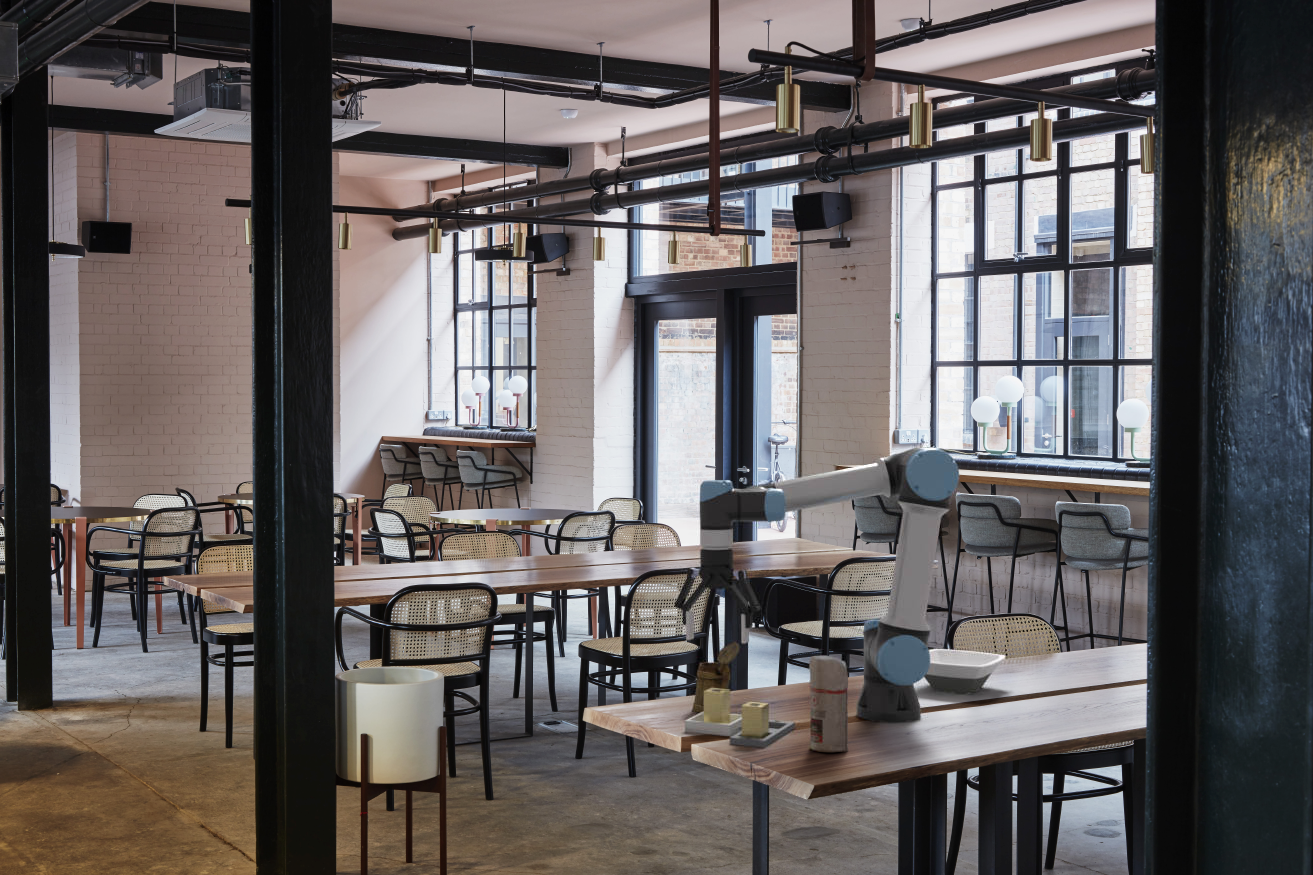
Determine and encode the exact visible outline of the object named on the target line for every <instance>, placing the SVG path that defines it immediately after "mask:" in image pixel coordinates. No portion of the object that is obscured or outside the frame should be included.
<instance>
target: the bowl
mask: <svg viewBox="0 0 1313 875" xmlns="http://www.w3.org/2000/svg"><path fill="white" fill-rule="evenodd" d="M928 650H929V654H930V666H929V669H928V671H927V673H926V675H925V676H924V677H923V678H924V679H925V681H926V682H927V683H928V684H929V686H930V687H931V688H932V690H933V689H935V690H934V691H937V690H940V691H939V692H943V691H945V693H951V692H953V693H954V694H963V693H970V694H973V692H974V693H976V692H977V691H980V690H981V689H982V688H983V686H984V685H985V683H986V682H987V680H988V679H989V678H990V676H991V675H992V673H994V672H995V671H996V670H997V669H998V667H999V666H1000V665H1001V664H1002V662H1004V661H1005V658H1006V655H1005V654H996V653H991V652H982V651H981V652H980V651H973V650H972V651H971V650H962V649H961V650H958V649H946V648H941V649H940V648H933V649H928ZM979 689H980V690H979Z"/></svg>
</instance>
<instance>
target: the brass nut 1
mask: <svg viewBox="0 0 1313 875" xmlns="http://www.w3.org/2000/svg"><path fill="white" fill-rule="evenodd" d="M730 714H731V689H730V688H728V689H719V688H710V689H708V690H706V691H704V722H712V723H721V724H730Z"/></svg>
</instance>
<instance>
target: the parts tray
mask: <svg viewBox="0 0 1313 875" xmlns="http://www.w3.org/2000/svg"><path fill="white" fill-rule="evenodd" d="M740 731H742V714H737V713H730V724H721V723H712V722H704V711H703V712H701V713H699V712H698V714H696V715H692V717H689V718H688V719H686V720H684V732H686V733H695V734H696V733H697V734H705V735H715V736H722V737H723V736H724V737H731V736H733V735H735V734H737V733H738V732H740Z"/></svg>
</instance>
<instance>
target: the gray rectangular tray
mask: <svg viewBox="0 0 1313 875" xmlns="http://www.w3.org/2000/svg"><path fill="white" fill-rule="evenodd" d="M795 729H796V722H795V721H786V720H777V719H776V720H774V719H769V736H767V737H765V738H764V739H762V738H752V737H743V736H742V730H741V731H739V732H737V733H735V734H734V735H732V736H729V744H730V745H739V746H744V747H745V746H746V747H755V748H765V749H766V747H768V746H770V745H772V743H774V742H776V741H778V739H781V738H782V737H784V736H786V735H787V734H788V733H790V732H792V731H794V730H795Z"/></svg>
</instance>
